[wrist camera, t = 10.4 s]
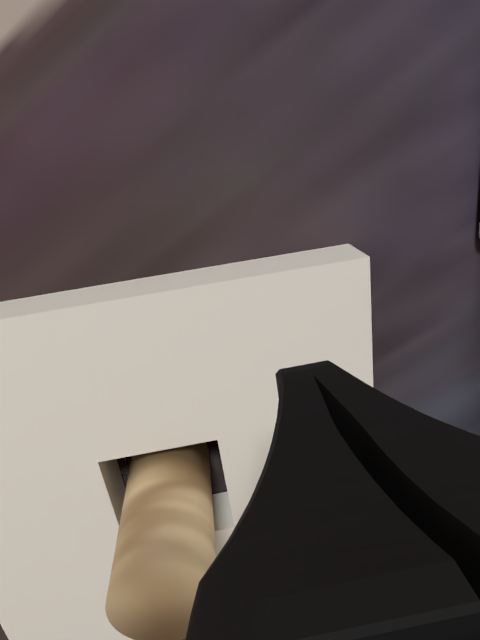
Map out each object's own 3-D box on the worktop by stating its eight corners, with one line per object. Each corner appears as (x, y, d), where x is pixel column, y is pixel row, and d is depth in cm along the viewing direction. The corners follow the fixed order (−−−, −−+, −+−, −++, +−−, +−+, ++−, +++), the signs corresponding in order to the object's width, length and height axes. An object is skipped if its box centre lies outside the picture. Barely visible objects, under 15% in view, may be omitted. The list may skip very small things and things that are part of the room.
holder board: (348, 243, 20) (369, 256, 17) (362, 558, 27) (378, 596, 25) (-108, 320, 19) (-150, 344, 16) (39, 624, 26) (25, 670, 24)
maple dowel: (201, 418, 22) (209, 554, 15) (214, 479, 24) (227, 630, 16) (123, 433, 22) (91, 578, 15) (141, 493, 24) (121, 652, 16)
